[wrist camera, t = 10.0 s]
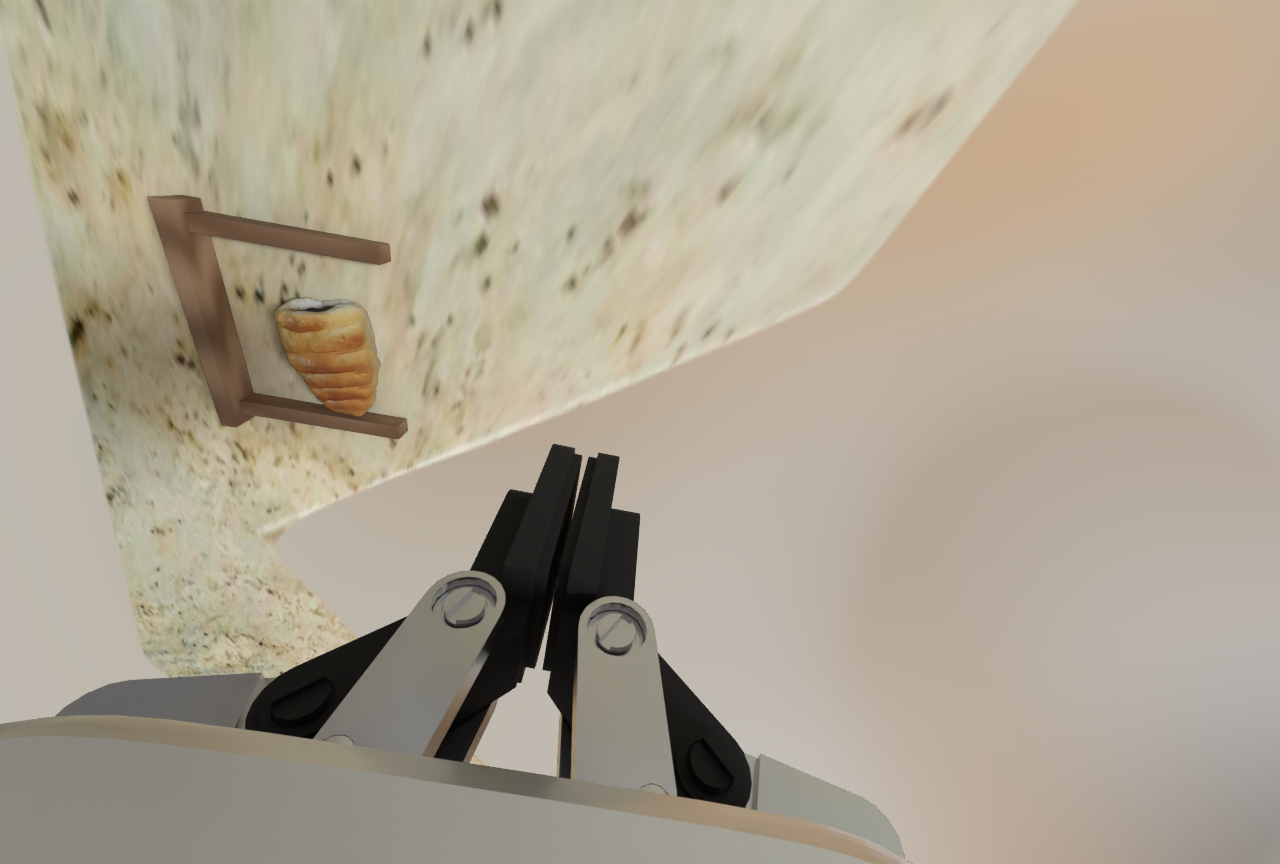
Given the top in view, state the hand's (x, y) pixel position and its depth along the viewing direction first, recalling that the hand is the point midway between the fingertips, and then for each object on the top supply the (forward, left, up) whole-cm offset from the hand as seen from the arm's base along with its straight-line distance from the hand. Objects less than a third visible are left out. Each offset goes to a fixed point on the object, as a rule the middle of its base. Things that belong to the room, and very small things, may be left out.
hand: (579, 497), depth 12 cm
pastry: (+9, -22, -25) cm, 35 cm away
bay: (+8, -24, -25) cm, 36 cm away
